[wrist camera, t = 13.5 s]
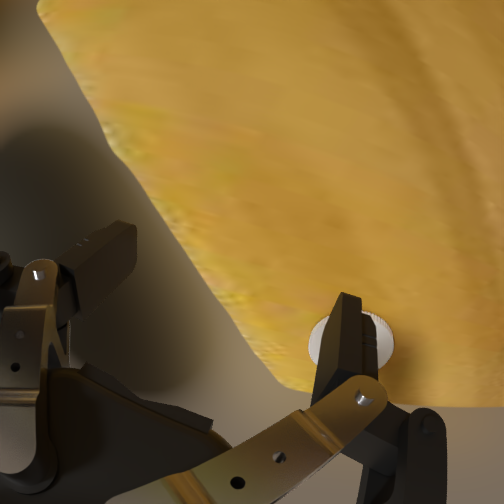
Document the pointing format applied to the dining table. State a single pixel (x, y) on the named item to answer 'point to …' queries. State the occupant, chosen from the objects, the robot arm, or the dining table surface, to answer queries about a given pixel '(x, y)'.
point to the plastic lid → (383, 339)
